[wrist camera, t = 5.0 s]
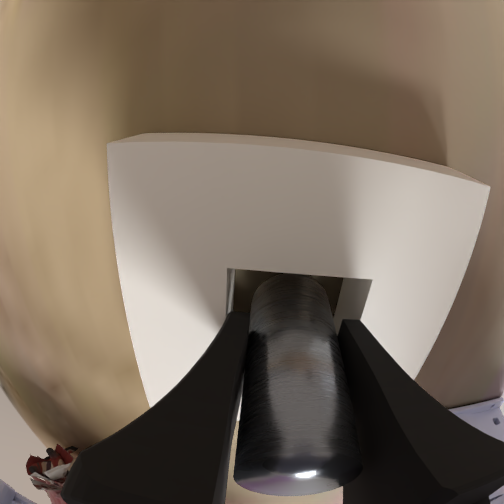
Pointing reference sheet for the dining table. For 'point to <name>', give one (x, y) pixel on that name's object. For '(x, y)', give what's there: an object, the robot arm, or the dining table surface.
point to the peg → (294, 395)
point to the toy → (51, 471)
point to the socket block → (283, 238)
